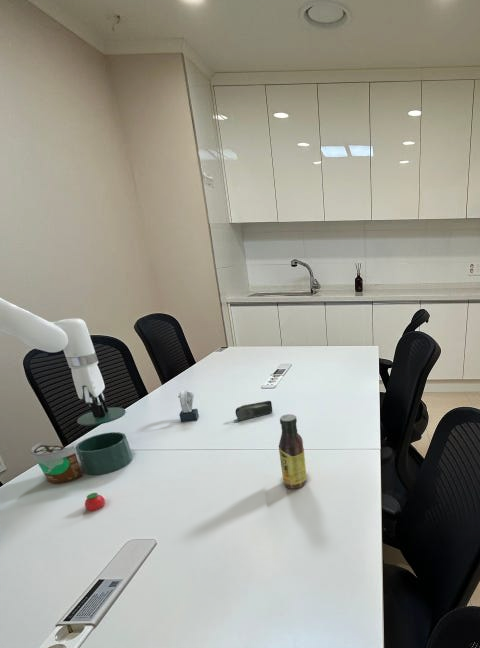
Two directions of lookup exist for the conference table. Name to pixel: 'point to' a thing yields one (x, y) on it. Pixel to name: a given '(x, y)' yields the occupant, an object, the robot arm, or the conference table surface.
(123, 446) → the pot
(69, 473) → the food container
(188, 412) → the stone sculpture
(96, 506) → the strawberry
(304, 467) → the sauce bottle
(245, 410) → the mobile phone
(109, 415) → the lid
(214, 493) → the conference table surface
